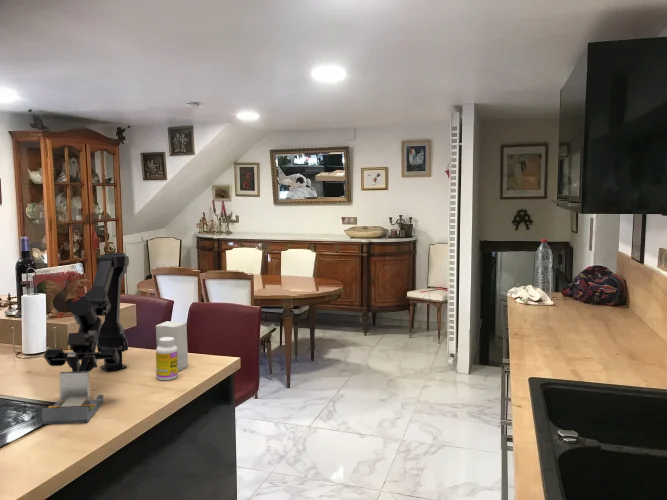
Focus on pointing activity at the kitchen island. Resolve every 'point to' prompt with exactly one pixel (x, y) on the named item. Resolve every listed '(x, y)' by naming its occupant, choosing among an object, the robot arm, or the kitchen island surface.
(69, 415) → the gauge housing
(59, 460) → the kitchen island surface
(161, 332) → the skincare box
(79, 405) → the block
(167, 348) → the supplement bottle
